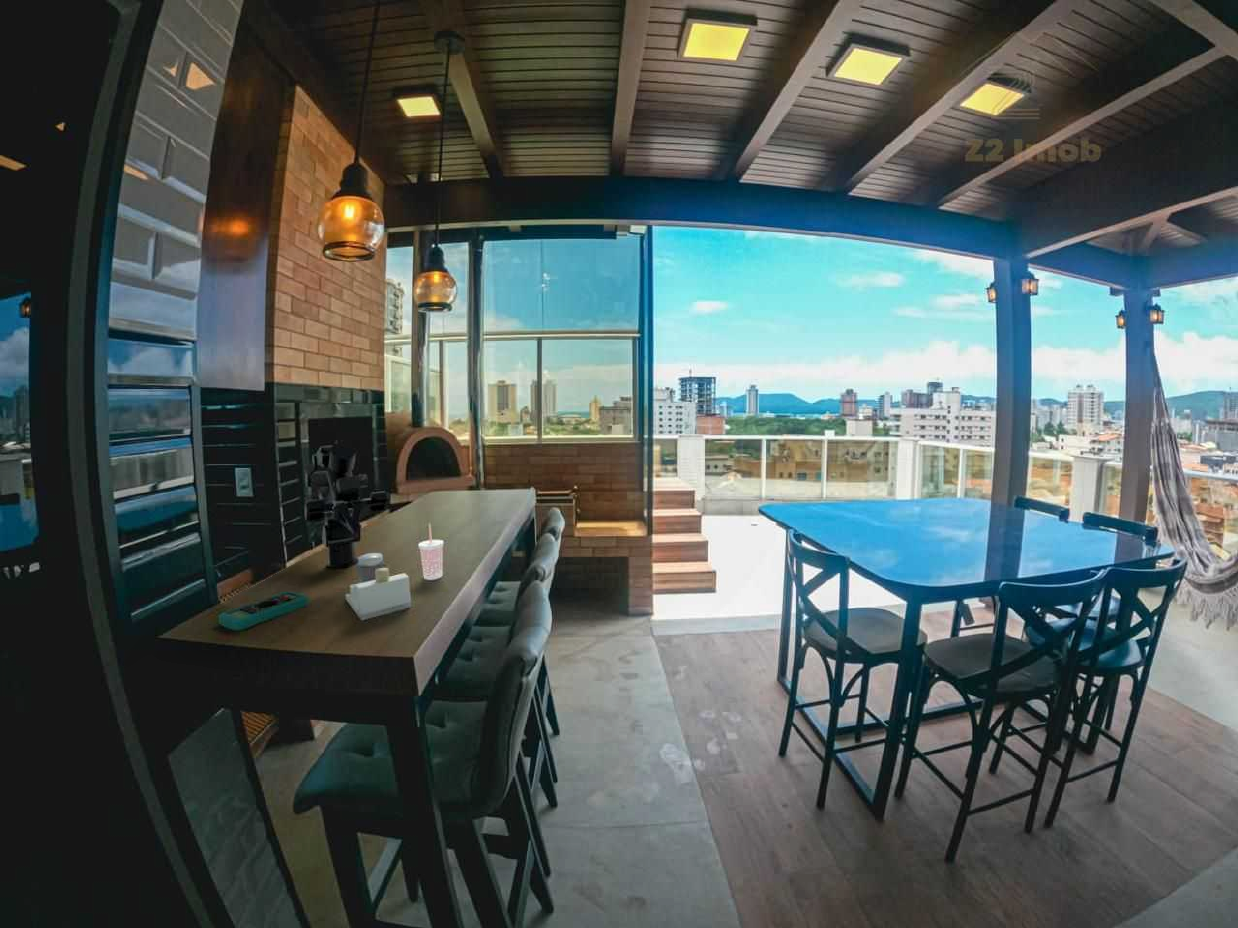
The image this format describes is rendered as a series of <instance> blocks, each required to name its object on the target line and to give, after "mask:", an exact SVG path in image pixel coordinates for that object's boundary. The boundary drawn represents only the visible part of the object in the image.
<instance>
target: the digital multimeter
mask: <svg viewBox="0 0 1238 928" xmlns="http://www.w3.org/2000/svg"><path fill="white" fill-rule="evenodd" d="M308 605H309V601H308V597H307V595H305V594H302V593H299V592H296V591H291V590H288V591H285V592H281V593H279V594H276V595H273V596H271V597H270V596H269V597H268V598H265V599H261V600H258V601H256V602H252V603H249V604H247V605H243V606H240V607H237V608H234V609H231V610H227V611H224V612H222V613H220V614H219V615H218V622H219V625H220V626H222V627H224V628H227V629H229V630H232V631H237V632H239V631H242V630H245V629H247V628H250V627H253V626H256V625H258V624H260V622H261V623H264V622H265V621H268V619H269V620H271V619H274V618H276V617H279V616H282V615H284V614H287V613H290V612H292V611H295V610H298V609H301V608H304V607H307V606H308Z"/></svg>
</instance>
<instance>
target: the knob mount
mask: <svg viewBox="0 0 1238 928" xmlns="http://www.w3.org/2000/svg"><path fill="white" fill-rule="evenodd" d="M389 572H390V571H389V568H388V567H386V568H379V569H376V570H375V575H376V580H372V581H368V582H364V583H359V584H358V583H356V584H355V583H353V584H350V585H349V591H350V593H347V594H345V600H346V602H347V603H348V604H349V605H350V606H351V609H352V610H353V611H354V612H355V613H356V615H357V616H358V618H359V619H360V620H361V621H366V620H368V619H372V618H375V617H380V616H384V615H387V614H390V613H395V612H398V611H401V610H405V609H406V610H407V609H409V608H411V607H412V600H411V599H412V598H411V588H410V587H411V585H410V576H409V575H408V574H406V573H405V572H404V573H400V574H399V573H398V574H396V575H391V576H390V573H389Z"/></svg>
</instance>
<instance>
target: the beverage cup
mask: <svg viewBox="0 0 1238 928" xmlns="http://www.w3.org/2000/svg"><path fill="white" fill-rule="evenodd" d="M428 532H429V533H428V534H429V540H424V541H421V542H419V543H418V548H419V552H420V560H421V566H422V568H421V569H422V572H423V573H422V574H423V578H424V579H425V580H428V581H429V580H431V581H432V580H437V579H440V578H442V576H443V571H444V570H443V567H444V565H443V559H444V558H443V557H444V556H443V555H444V554H443V552H444V551H443V549H444V540H442V539H433V537H432V535H433V534H432V525H431V523H428Z"/></svg>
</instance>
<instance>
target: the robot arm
mask: <svg viewBox="0 0 1238 928" xmlns="http://www.w3.org/2000/svg"><path fill="white" fill-rule="evenodd" d="M356 454H357V448H356V447H354V445H352V444H350V443H348V442H346V441H345V439H336V440H335V443H334V444H333V445H321V446H320V447H319V448H318V450H317V452H316V453H314V454H312V456H311V457H312V458H311V462H310V463H309V464H308V465H307V467H305V471H304V482H305V487H306V488H307V489H309V490H308V491H309V492H310V494H311V495H314V496H318V498H319V499H311V500H307V501H305V503H304V519H305V522H307V523H310V522H317V521H321V520H322V519H323V518H324V514H325V518H324V525H323V526H322V532H321V541H322V544H323V546H324V547H325V548H328V550H329V551H328V559H329V563H327V564H326V565H325V568H341V569H342V568H346V569H347V568H350V567H351V566H352V565H355V564H356V563H358V558H356V553H355V552H356V550H355V543H356V542H357V543H358V542H361V531H362V525H361V524H360V519H361V518H362V517H364V516H365V515H366V514H365V513H366V509H367V507H369V511H370V512H372V513H379V512H380V513H381V512H385V511H387V509H388V507H389V506H388V505H389V503H390V495H389V493H388V492H387V491H384V490H383V491H376V492H371V493H370V496H369V498H360V497H362V492H361V489H363V488H367V487H368V485H369V479H368V475H367V474H366V473H361V474H357V476H353V473H352V471H353V470H354V467H355V462H356V458H357V455H356ZM317 468H327V469H326V470H321V471H316V470H317Z"/></svg>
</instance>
